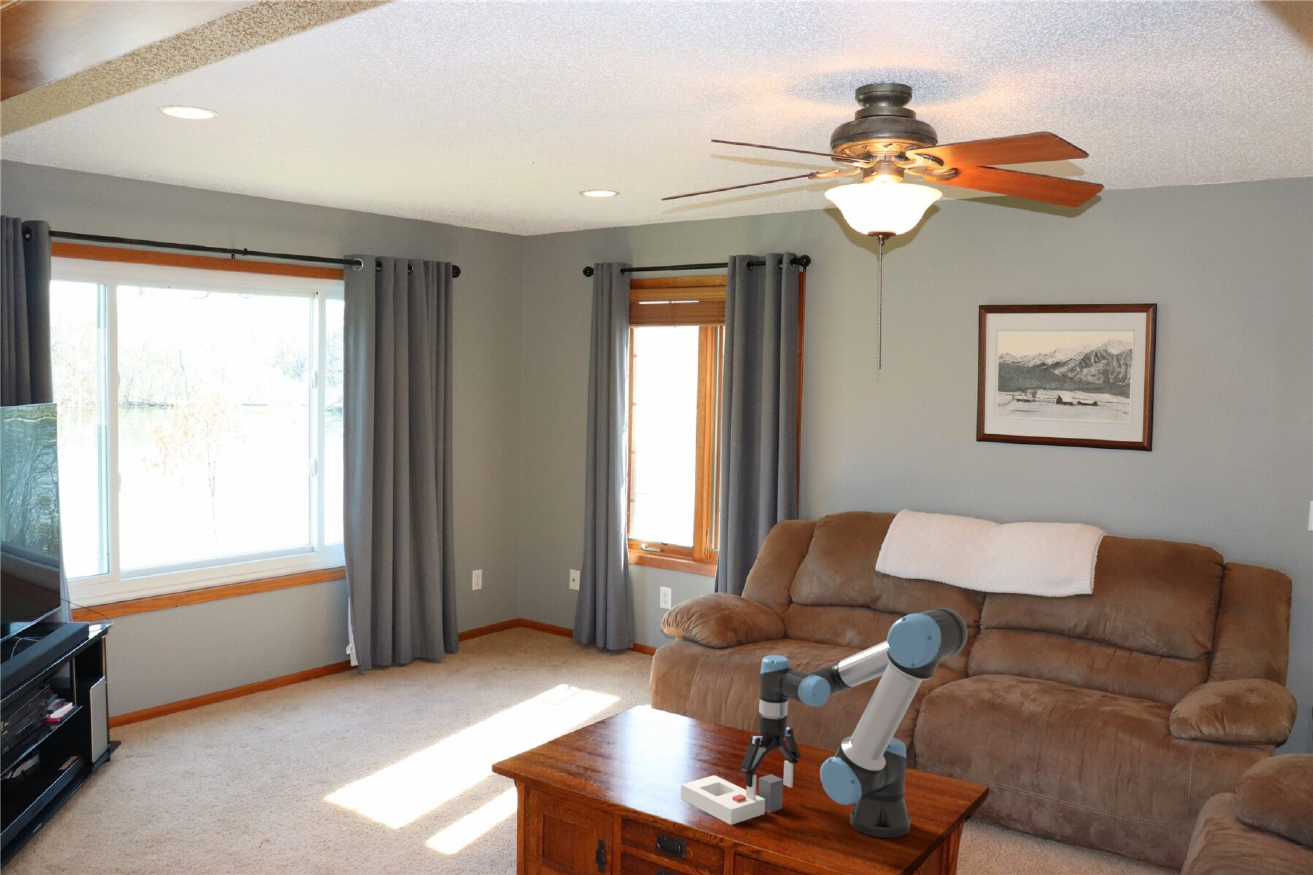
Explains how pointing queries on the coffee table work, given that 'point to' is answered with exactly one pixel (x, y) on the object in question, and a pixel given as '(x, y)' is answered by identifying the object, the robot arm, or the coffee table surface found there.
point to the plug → (771, 792)
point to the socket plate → (722, 799)
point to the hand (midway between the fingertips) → (769, 792)
